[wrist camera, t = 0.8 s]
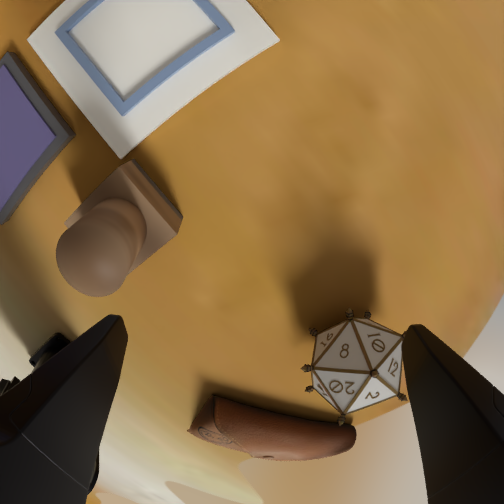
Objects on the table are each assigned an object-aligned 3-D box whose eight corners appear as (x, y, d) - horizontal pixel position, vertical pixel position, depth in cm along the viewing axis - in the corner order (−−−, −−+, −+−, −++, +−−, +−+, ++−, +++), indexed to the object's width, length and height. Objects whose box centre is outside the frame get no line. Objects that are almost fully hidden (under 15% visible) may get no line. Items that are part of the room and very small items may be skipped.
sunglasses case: (181, 433, 29) (191, 465, 23) (203, 379, 31) (218, 402, 25) (313, 457, 34) (340, 481, 28) (334, 412, 36) (366, 431, 30)
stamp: (130, 260, 21) (96, 325, 14) (83, 207, 19) (27, 254, 12) (183, 216, 20) (165, 271, 13) (133, 158, 18) (87, 184, 11)
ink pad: (8, 220, 19) (-1, 226, 17) (-45, 142, 15) (-54, 144, 14) (75, 135, 17) (67, 136, 16) (14, 52, 14) (5, 51, 12)
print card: (123, 158, 18) (118, 160, 17) (31, 40, 14) (23, 38, 13) (278, 42, 16) (281, 38, 15) (169, -69, 11) (167, -77, 10)
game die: (318, 325, 30) (285, 423, 24) (315, 269, 23) (271, 395, 18) (408, 340, 26) (388, 444, 20) (431, 287, 20) (416, 424, 14)
